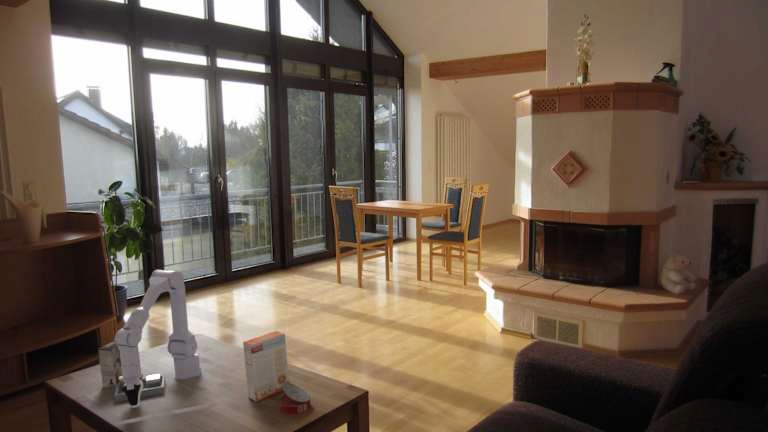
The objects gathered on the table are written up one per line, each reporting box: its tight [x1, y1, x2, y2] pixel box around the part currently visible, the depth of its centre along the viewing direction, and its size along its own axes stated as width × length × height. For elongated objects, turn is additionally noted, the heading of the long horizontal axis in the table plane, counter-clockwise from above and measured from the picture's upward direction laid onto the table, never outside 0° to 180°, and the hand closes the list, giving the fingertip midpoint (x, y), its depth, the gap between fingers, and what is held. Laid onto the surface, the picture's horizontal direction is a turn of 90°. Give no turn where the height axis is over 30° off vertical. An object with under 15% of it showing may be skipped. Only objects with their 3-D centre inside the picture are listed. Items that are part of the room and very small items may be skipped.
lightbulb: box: [124, 379, 143, 409], centre depth 179 cm, size 6×6×11 cm
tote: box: [113, 374, 166, 403], centre depth 190 cm, size 16×11×4 cm
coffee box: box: [97, 340, 124, 389], centre depth 198 cm, size 9×6×16 cm
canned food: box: [279, 381, 311, 415], centre depth 176 cm, size 11×10×10 cm
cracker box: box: [242, 330, 290, 403], centre depth 186 cm, size 14×6×21 cm, turn 135°
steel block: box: [145, 373, 161, 389], centre depth 192 cm, size 4×4×4 cm
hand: (134, 400), depth 179 cm, fingers closed on lightbulb, 6 cm apart
